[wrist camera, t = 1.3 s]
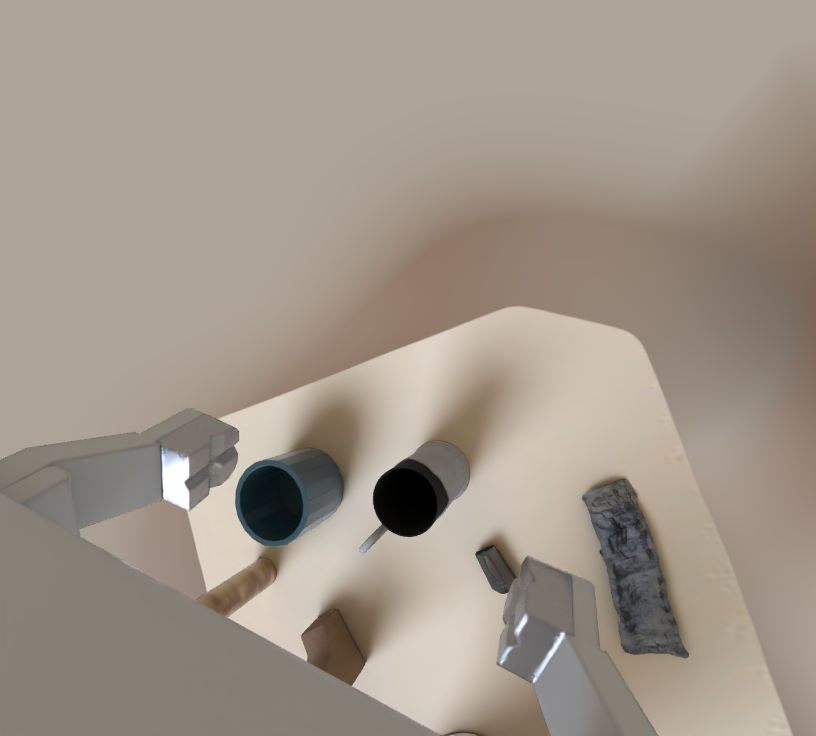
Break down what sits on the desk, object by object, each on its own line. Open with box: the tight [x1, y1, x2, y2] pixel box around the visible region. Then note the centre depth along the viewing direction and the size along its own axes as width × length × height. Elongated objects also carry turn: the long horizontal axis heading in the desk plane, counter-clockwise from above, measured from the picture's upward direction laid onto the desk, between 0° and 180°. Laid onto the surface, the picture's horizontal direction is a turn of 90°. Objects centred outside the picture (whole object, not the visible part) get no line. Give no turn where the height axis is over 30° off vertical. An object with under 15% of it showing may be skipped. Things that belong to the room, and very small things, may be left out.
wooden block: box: [301, 609, 365, 686], centre depth 55 cm, size 9×4×18 cm, turn 33°
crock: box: [235, 448, 343, 547], centre depth 61 cm, size 12×12×10 cm
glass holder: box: [359, 441, 470, 554], centre depth 53 cm, size 9×14×15 cm, turn 138°
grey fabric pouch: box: [582, 479, 689, 658], centre depth 51 cm, size 21×7×2 cm, turn 14°
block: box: [475, 545, 516, 594], centre depth 56 cm, size 4×6×2 cm, turn 33°
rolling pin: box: [196, 558, 276, 617], centre depth 61 cm, size 4×4×16 cm
